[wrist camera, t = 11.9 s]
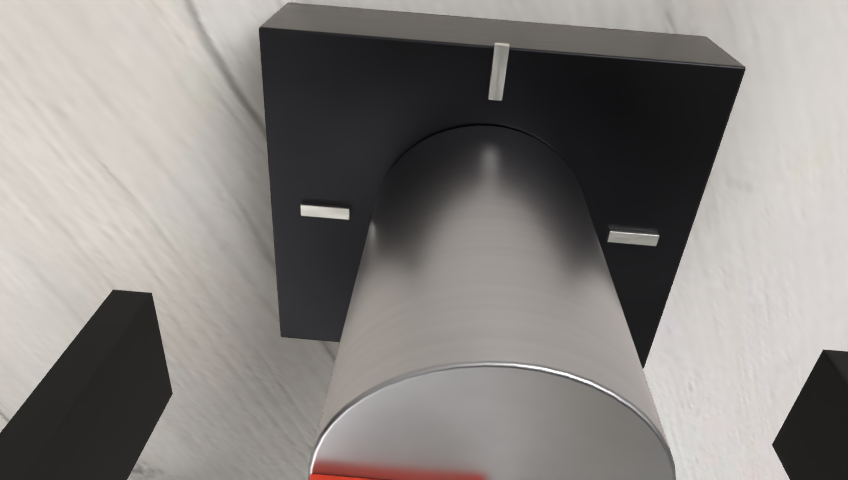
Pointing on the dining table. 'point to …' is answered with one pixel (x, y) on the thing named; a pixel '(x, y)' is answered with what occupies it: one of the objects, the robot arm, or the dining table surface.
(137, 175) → the dining table surface
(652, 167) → the panel
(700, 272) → the dining table surface
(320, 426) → the dial
